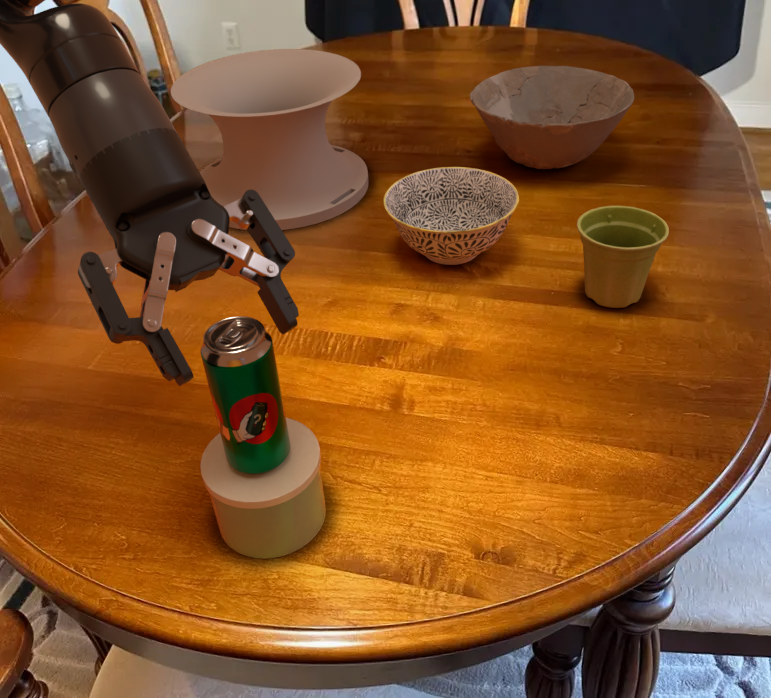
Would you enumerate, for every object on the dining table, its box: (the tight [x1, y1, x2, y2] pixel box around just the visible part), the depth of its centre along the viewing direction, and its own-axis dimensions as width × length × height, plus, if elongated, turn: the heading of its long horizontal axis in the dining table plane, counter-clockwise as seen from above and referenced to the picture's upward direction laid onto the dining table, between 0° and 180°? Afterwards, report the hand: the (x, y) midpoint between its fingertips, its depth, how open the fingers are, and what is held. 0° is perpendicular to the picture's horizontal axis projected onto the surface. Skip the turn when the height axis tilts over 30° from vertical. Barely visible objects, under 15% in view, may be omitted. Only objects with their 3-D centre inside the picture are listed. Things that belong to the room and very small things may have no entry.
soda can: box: [200, 315, 290, 475], centre depth 59 cm, size 5×5×12 cm
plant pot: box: [576, 205, 670, 309], centre depth 87 cm, size 9×9×9 cm
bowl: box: [382, 166, 520, 266], centre depth 97 cm, size 16×16×8 cm
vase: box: [170, 48, 370, 231], centre depth 110 cm, size 25×25×16 cm
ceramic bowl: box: [469, 65, 635, 170], centre depth 115 cm, size 22×23×10 cm
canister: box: [199, 417, 327, 559], centre depth 65 cm, size 9×9×7 cm
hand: (240, 354), depth 56 cm, fingers open, 8 cm apart
